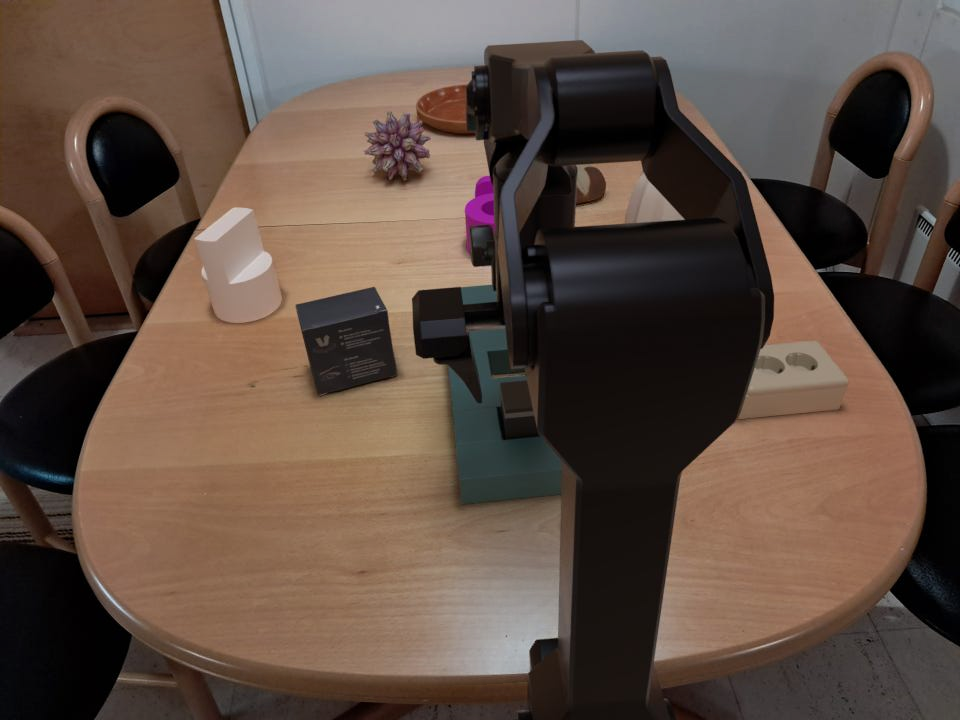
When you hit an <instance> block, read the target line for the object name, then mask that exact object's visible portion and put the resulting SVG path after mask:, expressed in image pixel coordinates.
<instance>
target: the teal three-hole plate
mask: <svg viewBox="0 0 960 720" xmlns="http://www.w3.org/2000/svg"><path fill="white" fill-rule="evenodd" d="M460 287H461V293H462V300H463V305H464V304H476V303H487V302H497V298H496V291H493V287H492V284H482V285H471V286H460ZM469 333H470V338H471V343H472V347H473V352H474V356H475V361H476V365H477V369H478V374H479V378H480V385H481V391H482V403H477V402H476V400H475V399H474V397H473V396H472V394H471V393H470V391H469V389H468V388H467V386H466V385H465V383H464V382H463V380H462V379H461V378H460V377H459V376H458V375H457V374H456V373H455V372H454V371H453V370H452V369H451V368H450V367H449V366H448V365H447V369H448V379H449V380H448V381H449V389H450V400H451V410H452V411H451V412H452V421H453V431H454V443H455V453H456V464H457V473H458V485H459V494H460V503H461V505H469V504H477V503H488V502H489V503H490V502H498V501H509V500H518V499H526V498H527V499H528V498H537V497H547V496H557V495H558V496H559V495H561V478H562V461H561V460H560V459H559V458H558V456H557V455H556V454H555V453H554V452H553V451H552V450H551V448H550V447H549V446H548V445H547V444H546V443H545V441H544V440H543V439H542V438H541V437H530V438H520V439H510V440H503V438H502V426H501V394H500V383H504V382H514V381H525V380H527V378H526V375H518V376H507V377H498V378H497V377H496V378H493V377H492V376H493V375H501V374H513V373H522V372H524V373H525V369H511V367H510V362H509V356H508V349H507V340H506V330H505V329H495V330H484V331H473V332H469Z"/></svg>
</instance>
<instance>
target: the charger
mask: <svg viewBox="0 0 960 720" xmlns="http://www.w3.org/2000/svg"><path fill="white" fill-rule="evenodd" d="M500 394H501V426H502V431H501V436H502V440H510V439H520V438H530V437H540V435H539V434H538V431H537V426H536V421H535V417H534V412H533V407H532V402H531V397H530V393H529V388H528V383H527V380H525V381H514V382H504V383H500Z"/></svg>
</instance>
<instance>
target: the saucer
mask: <svg viewBox="0 0 960 720" xmlns="http://www.w3.org/2000/svg"><path fill="white" fill-rule="evenodd" d="M467 84H468V83H465V84H456V85H450V86H445V87H441V88H437V89H435V90H431V91H429V92H427V93H425V94H423V95H422V96H420V97H419V98H418V100H417V101H416V103H415V109H416V115H417V117H418V119H419V121H422V122H423V123H425V124H427V125H429V126H431V127H432V128H434V129H437V130H440V131H443V132H448V133H454V134H466V135H467V134H468V135H469V134H475V131H467V124H466V86H467Z"/></svg>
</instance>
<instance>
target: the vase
mask: <svg viewBox="0 0 960 720" xmlns="http://www.w3.org/2000/svg"><path fill="white" fill-rule="evenodd" d="M630 193H631V194H630V197H629V199H628V203H627V208H626V213H625V217H624V218H625V220H624V221H625V222H624V224H627V223H642V222H658V221H673V220H685V219H684V218H683V217H682V216H681V215H680V214H679V213H678V212H677V211H676V210H675V209H674V207H673V206H672V205H671V204H670V203H669V202H668V201H667V200H666V199H665V198H664V197H663V196H662V195H661V193H660V192H659V191H658V190H657V189H656V188H655V187H654V186H653V185H652V184H651V183H650V182H649V181H648V179H647V178H646V176H645V174H644V172H643V171H641V173H640V176H639V177H638V179H637V181H636V182H635V184H634V186H633V188H632V191H631V192H630Z"/></svg>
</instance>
